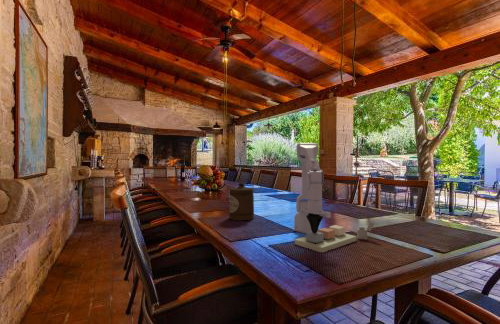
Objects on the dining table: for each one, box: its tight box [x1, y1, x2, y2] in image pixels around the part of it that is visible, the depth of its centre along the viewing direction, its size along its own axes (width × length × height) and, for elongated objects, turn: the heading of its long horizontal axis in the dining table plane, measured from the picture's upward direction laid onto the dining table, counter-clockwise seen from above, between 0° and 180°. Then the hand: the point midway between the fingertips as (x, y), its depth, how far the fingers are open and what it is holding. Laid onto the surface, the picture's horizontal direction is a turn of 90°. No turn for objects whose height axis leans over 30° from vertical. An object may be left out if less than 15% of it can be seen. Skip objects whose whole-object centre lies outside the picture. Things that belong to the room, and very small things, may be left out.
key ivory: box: [328, 224, 346, 236], centre depth 126 cm, size 5×5×3 cm
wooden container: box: [228, 181, 255, 221], centre depth 169 cm, size 15×15×22 cm
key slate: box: [305, 231, 323, 244], centre depth 116 cm, size 5×5×3 cm
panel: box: [294, 233, 358, 254], centre depth 121 cm, size 14×25×2 cm, turn 129°
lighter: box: [356, 221, 375, 240], centre depth 127 cm, size 7×2×8 cm, turn 76°
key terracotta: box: [318, 227, 335, 239], centre depth 121 cm, size 5×5×3 cm
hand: (314, 232), depth 116 cm, fingers closed
